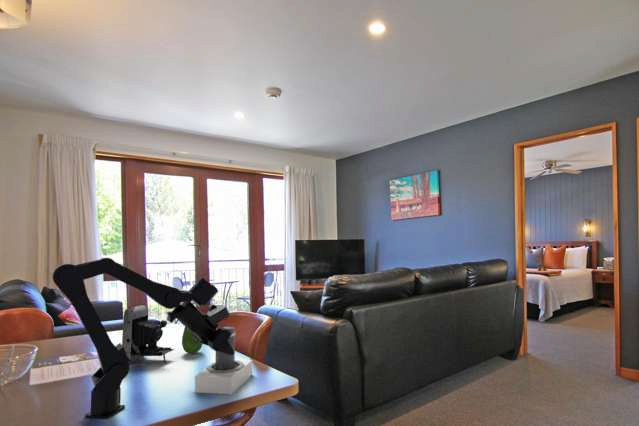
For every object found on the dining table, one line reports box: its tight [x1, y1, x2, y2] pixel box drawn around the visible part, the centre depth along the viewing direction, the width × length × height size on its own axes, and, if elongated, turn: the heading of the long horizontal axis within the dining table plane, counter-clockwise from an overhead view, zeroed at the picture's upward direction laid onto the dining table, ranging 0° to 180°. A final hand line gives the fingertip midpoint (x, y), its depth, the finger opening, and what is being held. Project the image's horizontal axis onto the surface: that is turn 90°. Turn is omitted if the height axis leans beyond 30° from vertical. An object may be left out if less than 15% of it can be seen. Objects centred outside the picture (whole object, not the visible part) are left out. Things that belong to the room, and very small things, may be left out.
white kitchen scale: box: [194, 358, 254, 395], centre depth 113 cm, size 16×11×5 cm
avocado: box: [181, 326, 203, 355], centre depth 146 cm, size 8×8×12 cm
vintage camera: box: [121, 303, 175, 364], centre depth 137 cm, size 10×16×20 cm, turn 78°
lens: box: [215, 326, 236, 370], centre depth 113 cm, size 6×6×14 cm
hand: (229, 351), depth 114 cm, fingers closed on lens, 6 cm apart
